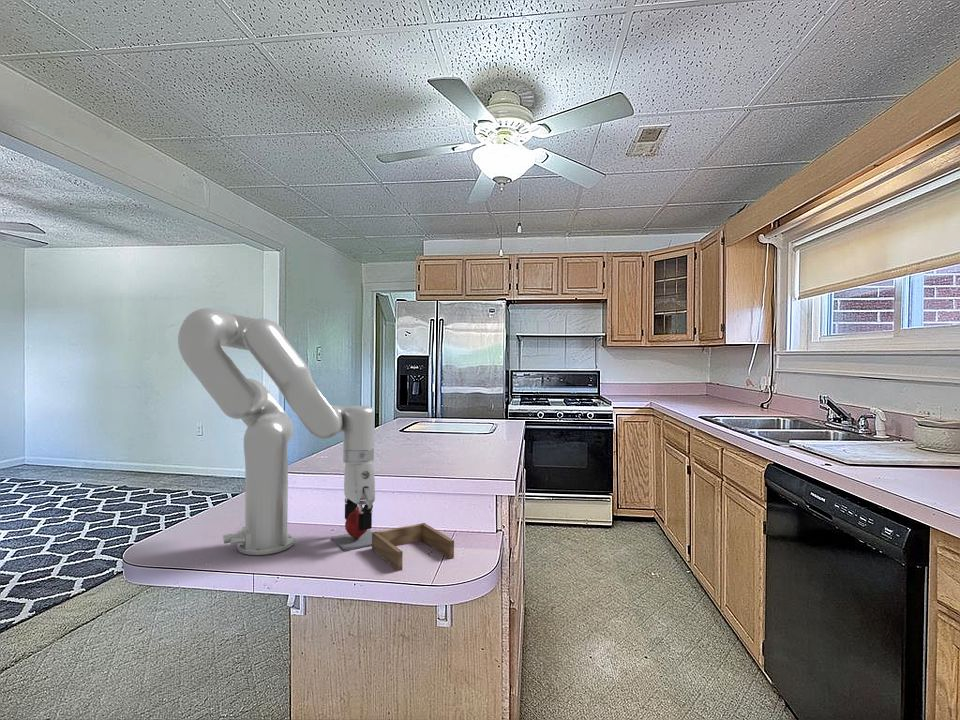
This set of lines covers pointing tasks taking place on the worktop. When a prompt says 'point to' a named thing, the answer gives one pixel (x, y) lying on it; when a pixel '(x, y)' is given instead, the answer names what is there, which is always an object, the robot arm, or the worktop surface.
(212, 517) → the worktop surface
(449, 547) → the tan u-shaped frame
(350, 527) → the onion
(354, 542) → the mat
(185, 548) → the worktop surface
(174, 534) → the worktop surface
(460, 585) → the worktop surface
